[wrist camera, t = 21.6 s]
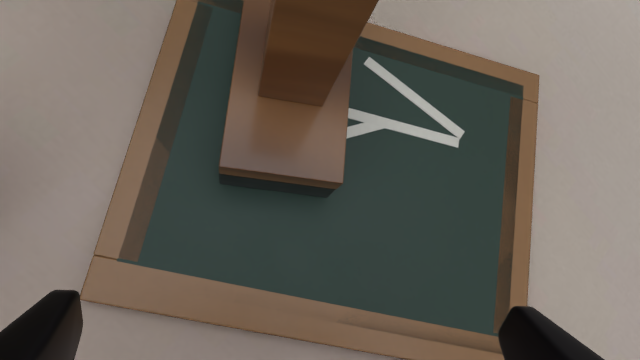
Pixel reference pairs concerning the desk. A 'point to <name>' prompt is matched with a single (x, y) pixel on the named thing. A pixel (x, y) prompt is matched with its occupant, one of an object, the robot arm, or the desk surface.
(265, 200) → the board
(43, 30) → the desk surface
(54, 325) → the robot arm
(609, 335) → the desk surface
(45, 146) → the desk surface
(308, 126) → the duster
